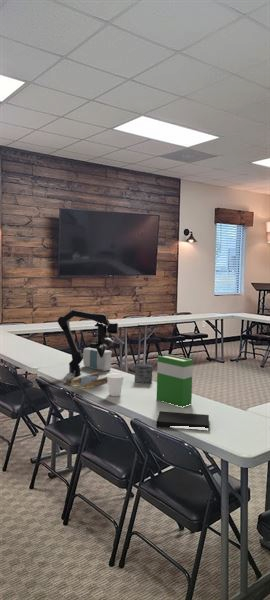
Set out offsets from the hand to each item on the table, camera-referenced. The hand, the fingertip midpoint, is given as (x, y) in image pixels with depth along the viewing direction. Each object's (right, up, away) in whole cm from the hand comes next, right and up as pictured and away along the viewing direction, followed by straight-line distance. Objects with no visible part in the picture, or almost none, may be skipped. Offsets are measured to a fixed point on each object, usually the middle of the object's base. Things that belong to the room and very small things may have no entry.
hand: (101, 357), depth 287 cm
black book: (+44, -20, -82) cm, 95 cm away
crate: (-6, -14, -19) cm, 24 cm away
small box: (+27, -14, -11) cm, 32 cm away
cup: (+10, -16, -40) cm, 44 cm away
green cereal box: (+42, -17, -51) cm, 68 cm away
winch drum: (-18, -13, -16) cm, 27 cm away
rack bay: (-4, -13, -16) cm, 21 cm away
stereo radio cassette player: (-4, -11, +21) cm, 24 cm away
